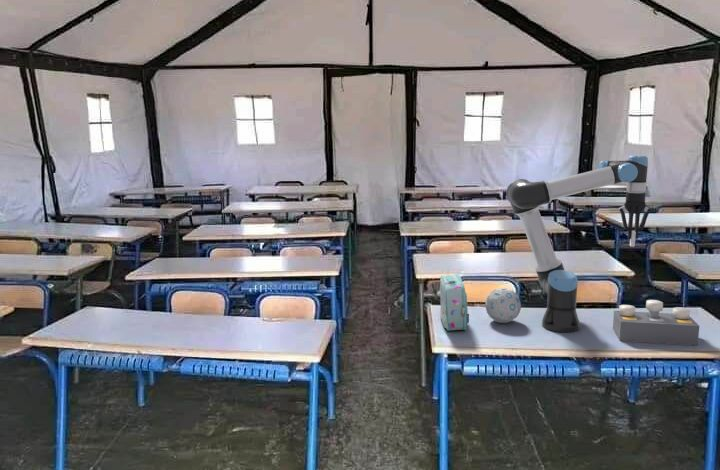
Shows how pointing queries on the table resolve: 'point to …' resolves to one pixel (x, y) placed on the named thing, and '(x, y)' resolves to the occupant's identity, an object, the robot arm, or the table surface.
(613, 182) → the robot arm
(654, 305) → the button middle
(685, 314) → the button right
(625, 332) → the console
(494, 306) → the puzzle ball
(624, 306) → the button left
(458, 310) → the lunch box
